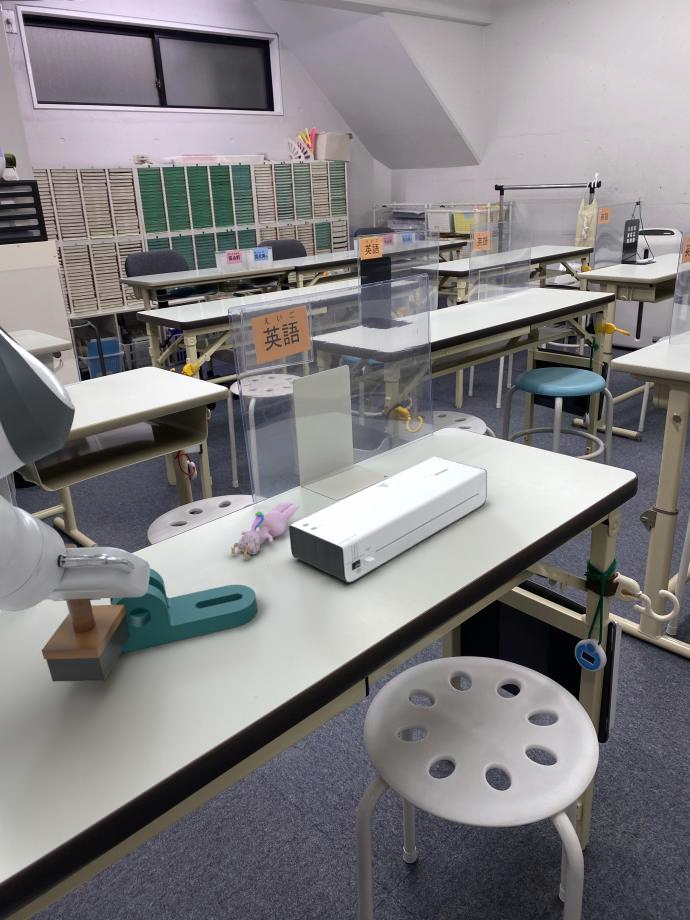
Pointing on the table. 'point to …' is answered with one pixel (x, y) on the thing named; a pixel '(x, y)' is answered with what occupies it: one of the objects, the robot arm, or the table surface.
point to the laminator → (388, 518)
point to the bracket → (183, 613)
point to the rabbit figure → (265, 528)
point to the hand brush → (86, 641)
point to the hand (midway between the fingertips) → (79, 593)
